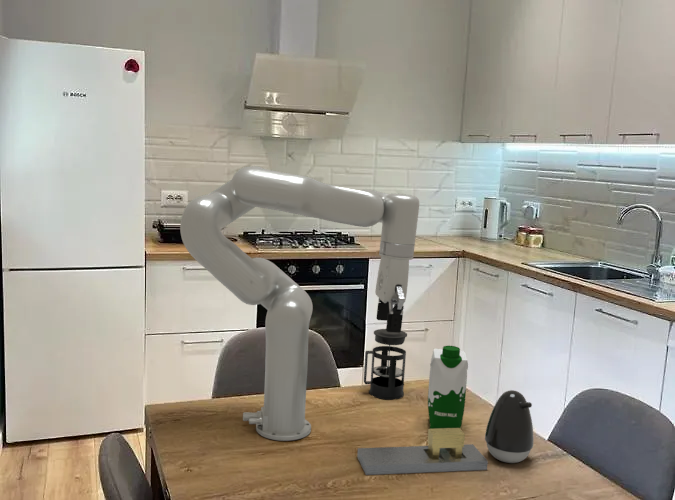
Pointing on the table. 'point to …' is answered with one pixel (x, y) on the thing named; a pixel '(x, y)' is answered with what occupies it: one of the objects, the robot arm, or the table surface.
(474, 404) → the table surface
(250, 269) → the robot arm
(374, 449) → the grey flat board
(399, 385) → the french press
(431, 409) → the milk carton
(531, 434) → the pump dispenser
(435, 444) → the tan wooden block
